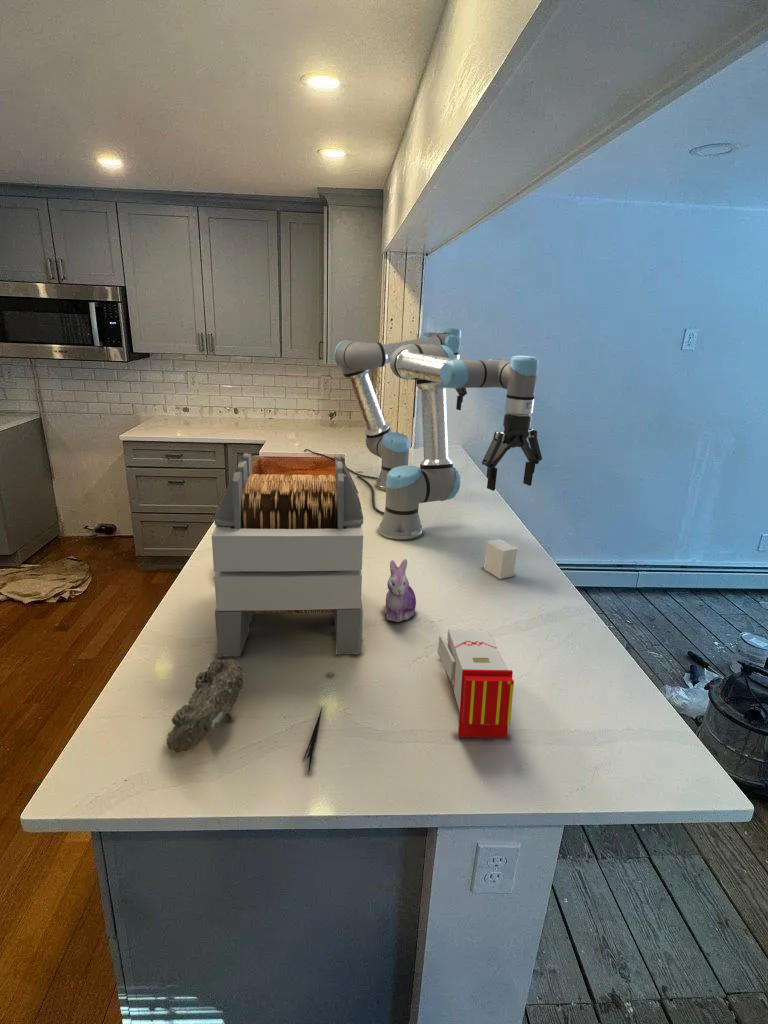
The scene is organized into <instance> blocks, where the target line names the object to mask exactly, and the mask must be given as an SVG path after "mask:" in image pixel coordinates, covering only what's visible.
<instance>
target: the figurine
mask: <svg viewBox="0 0 768 1024" xmlns="http://www.w3.org/2000/svg"><path fill="white" fill-rule="evenodd" d="M407 567H408V559H406V558H404V559H403V560H402V561H401V563H400V565H399V566H398V565H397V563H396V562H395V561H394V560H393V559H391V560H390V561H389V570H390V576H389V578H388V579H387V589H388V591H387V592H386V594H385V595H386V596H385V607H384V615H385V616H386V620H387V621H391V622H395V623H400V622H402V621H406V620H409V619H410V618H411V617H413V616H414V615H415V610H416V606H417V597H416V593H415V591H414V590H413V587H411V586H410V582H409V579H408V577H407V574H406V571H407Z"/></svg>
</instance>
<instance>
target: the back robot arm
mask: <svg viewBox="0 0 768 1024" xmlns="http://www.w3.org/2000/svg"><path fill="white" fill-rule="evenodd" d="M461 342H462V329H460V328H451V327H449V328H448V327H447V328H444V332H432V331H431V332H430V331H428V332H422V333H421V334H420V336H419V338H415V339H408V340H403V341H397V342H390V343H382V342H363V341H358V340H354V339H345V340H342V341H340V342H339V343H338V344H337V345H336V346H335V348H334V352H333V359H334V361H335V363H336V364H337V365H338V366H339V367H340V369H341V372H342V374H343V377H344V378H346V379H347V380H349V383H350V386H351V389H352V391H353V394H354V397H355V400H356V402H357V405H358V408H359V411H360V414H361V416H362V419H363V422H364V424H365V428H366V429H365V432H364V435H365V446H366V448H367V450H368V451H369V452H370V453H371V454H372V455H374V456H376V457H378V458H380V459H381V467H380V473H379V474H378V477H376V476H371V475H365V474H361V473H358V472H355V471H354V470H352V469H350V468H349V467H347V469H348V471H349V472H351V473H353V474H354V475H357V476H360V477H362V478H363V477H365V478H368V479H373V480H376V488H377V489H378V490H381V491H383V492H386V480H387V474H388V472H389V471H390V470H391V469H393V468H395V467H399V466H406V465H407V466H409V456H410V447H411V446H410V438H409V437H408V435H406V434H404V433H400V432H396V431H392V429H391V426H390V423H388V422H385V419H384V415H383V412H382V410H381V407H380V404H379V400H378V398H377V395H376V392H375V389H374V386H373V383H372V381H371V378H370V375H369V371H370V370H372V369H377V368H378V369H379V368H383V367H385V366H386V364H390V358H391V355H392V354H393V352H394V351H395V350H396V349H397V348H399V347H401V346H403V345H408V344H416V345H423V344H438V345H445V346H447V347H449V348H450V349H451V350H452V352H453V354H454V356H455V359H460V354H461V353H460V351H461ZM455 391H456V392H457V394H458V395H456V405H455V409H456V410H457V411H461V410H462V403H463V402H464V397H465V396H466V395H468V391H467V388H459V389H455ZM306 451H308V452H309V453H311V454H314V455H318V456H322V457H324V458H327V459H330V460H332V461H334V462H335V458H334V457H331V456H329V455H325V454H323V453H318V452H316V451H313V450H311V449H310V448H309V449H308V448H305V449H304V450H303V452H306Z"/></svg>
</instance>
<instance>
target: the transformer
mask: <svg viewBox="0 0 768 1024" xmlns="http://www.w3.org/2000/svg"><path fill="white" fill-rule="evenodd" d="M334 459H335V461H334V474H329V475H328V476H327V475H325V474H318V475H313V474H290V475H289V474H288V475H287V474H286V475H285V474H279V473H278V474H275V473H274V474H273V473H272V474H270V473H266V474H265V473H262V474H259V473H253V463H252V453H248V452H247V453H246V452H244V453H242V456H241V459H240V460H239V462H238V465H237V467H236V469H235V471H234V472H233V474H232V476H231V478H230V480H229V483H228V485H227V487H226V490H225V492H224V494H223V496H222V498H221V501H220V503H219V504H218V507H217V510H216V512H215V514H214V517H213V522H214V525H215V528H214V529H213V532H212V534H211V548H212V562H213V563H212V565H213V572H215V571H217V572H215V575H214V577H213V579H214V594H215V610H214V620H215V634H216V635H215V636H216V643H217V653H216V655H217V657H218V658H224V657H240V656H241V654H242V651H243V648H244V647H245V644H246V640H247V638H248V636H249V624H251V622H252V619H253V615H254V614H255V615H256V614H260V615H261V614H273V613H274V614H307V613H308V614H309V613H311V614H314V613H315V614H317V613H333V615H334V635H335V654H336V655H356V656H357V655H359V654H361V653H362V650H363V619H364V618H363V617H364V608H363V601H362V586H363V585H362V584H363V574H362V571H363V549H364V533H363V532H364V531H363V529H362V528H363V527H362V525H363V524H364V514H363V508H362V504H361V500H360V495H359V491H358V488H357V485H356V484H355V482H354V479H353V478H352V475H351V473H350V471H349V470H348V469H347V468H348V466H347V464H346V462H345V460H344V458H343V456H342V454H341V453H335V456H334Z"/></svg>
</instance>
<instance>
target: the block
mask: <svg viewBox="0 0 768 1024" xmlns="http://www.w3.org/2000/svg"><path fill="white" fill-rule="evenodd" d="M517 552H518V548H517V547H515V546H513V545H511V544H509V543H508V542H505V541H504V540H502V539H495V540H491V541H487V542H486V549H485V555H484V556H485V557H484V566H483V569H484V570H485V571H487V572H488V573H489V574H491V575H493V576H495V577H496V578H498V580H499V579H500V580H502V579H506V578H510V577H514V574H515V567H516V561H517V560H516V559H517Z"/></svg>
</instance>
